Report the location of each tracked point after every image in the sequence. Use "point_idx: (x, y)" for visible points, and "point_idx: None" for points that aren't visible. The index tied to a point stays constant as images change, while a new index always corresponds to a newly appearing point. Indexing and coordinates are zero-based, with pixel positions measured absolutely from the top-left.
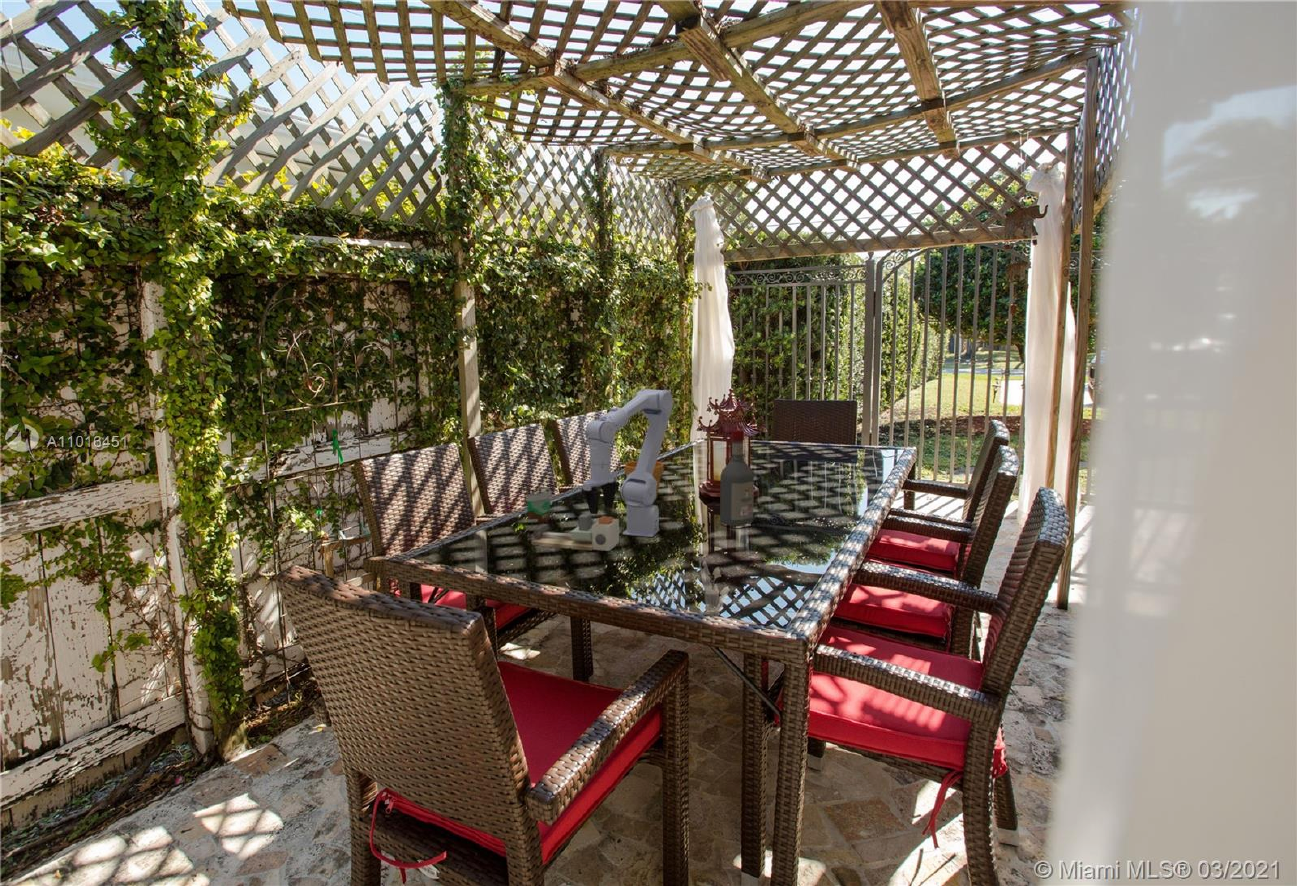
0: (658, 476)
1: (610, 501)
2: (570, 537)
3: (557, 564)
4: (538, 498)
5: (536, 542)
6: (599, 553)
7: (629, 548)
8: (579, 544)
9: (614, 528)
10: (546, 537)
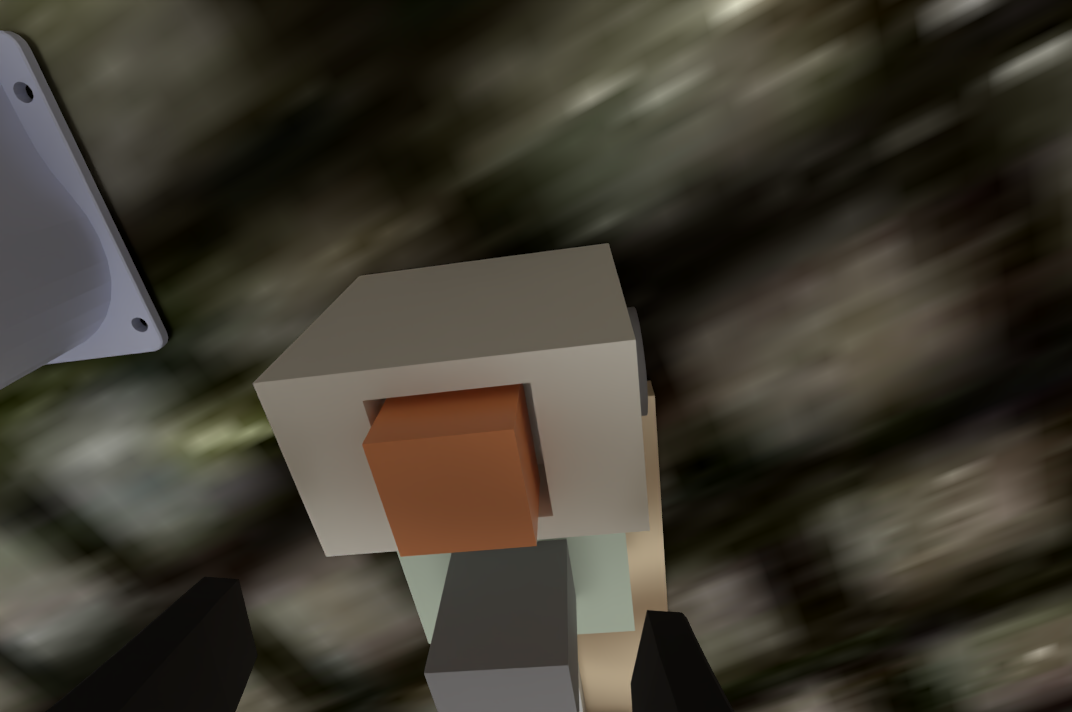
0: None
1: (171, 689)
2: None
3: (1024, 446)
4: None
5: None
6: (695, 291)
7: (457, 98)
8: None
9: (434, 329)
10: (584, 700)
